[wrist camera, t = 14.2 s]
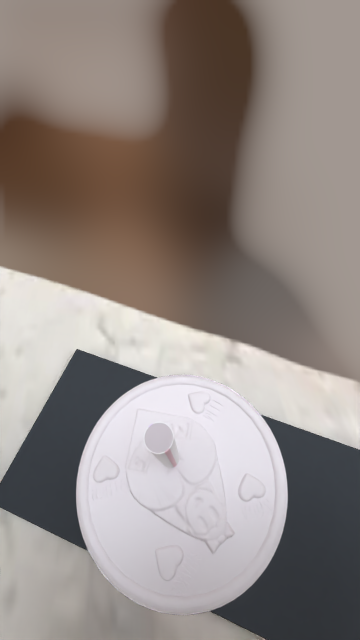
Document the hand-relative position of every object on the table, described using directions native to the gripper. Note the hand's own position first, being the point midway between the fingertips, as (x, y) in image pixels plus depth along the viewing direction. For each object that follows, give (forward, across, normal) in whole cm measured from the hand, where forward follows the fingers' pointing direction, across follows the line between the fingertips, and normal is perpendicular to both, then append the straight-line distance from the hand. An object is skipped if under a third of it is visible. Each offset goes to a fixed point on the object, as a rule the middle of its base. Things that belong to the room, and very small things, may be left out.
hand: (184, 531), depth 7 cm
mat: (+9, 0, +7) cm, 12 cm away
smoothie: (+9, 0, +7) cm, 11 cm away
